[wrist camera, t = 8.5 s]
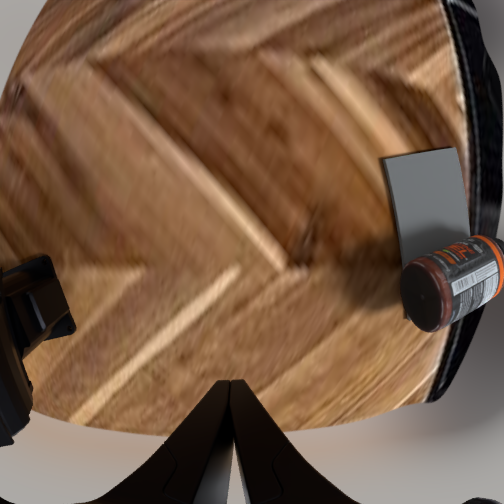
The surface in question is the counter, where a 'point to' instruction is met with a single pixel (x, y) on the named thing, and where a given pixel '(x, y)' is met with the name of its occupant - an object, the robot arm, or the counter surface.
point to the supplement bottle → (452, 281)
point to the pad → (427, 201)
